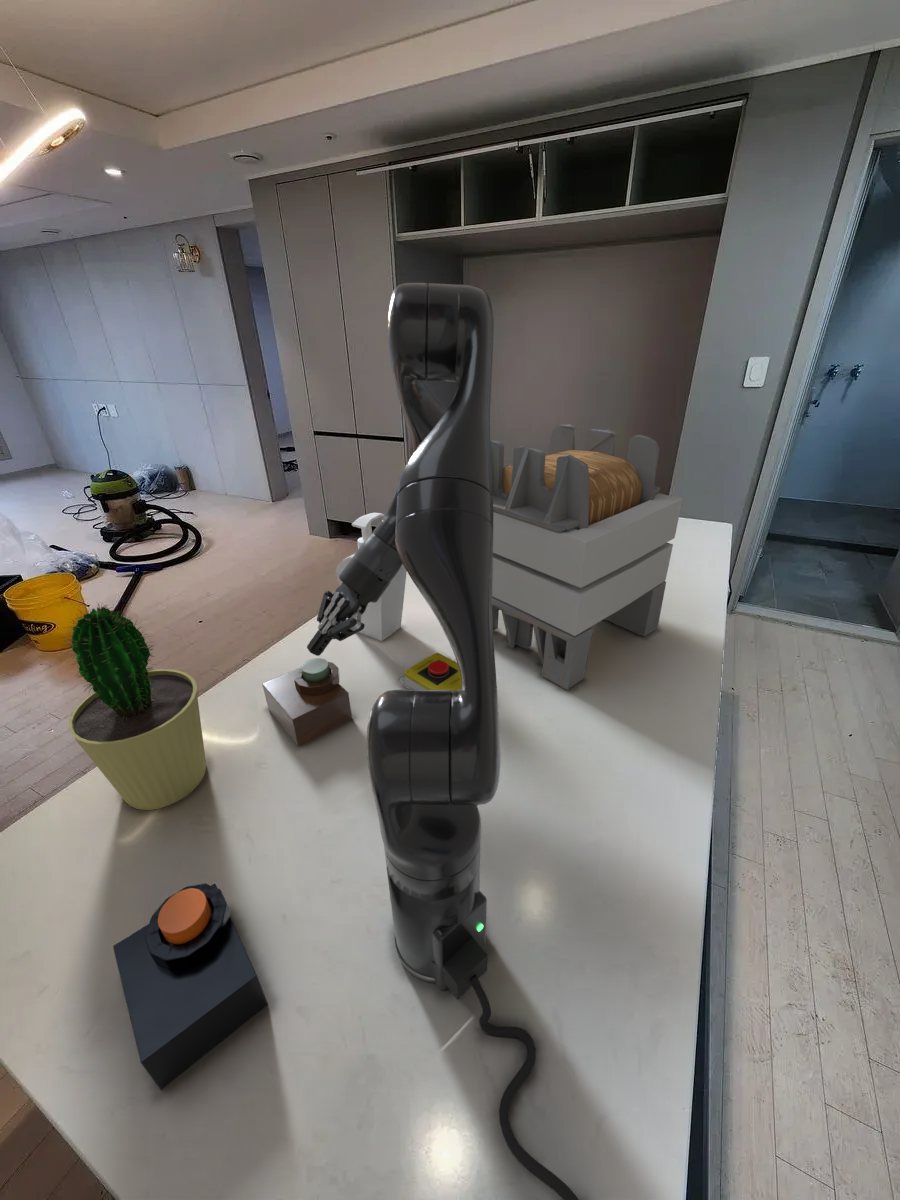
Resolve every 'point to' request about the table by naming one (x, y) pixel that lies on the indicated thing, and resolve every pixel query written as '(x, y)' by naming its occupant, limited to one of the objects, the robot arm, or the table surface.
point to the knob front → (184, 916)
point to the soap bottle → (389, 607)
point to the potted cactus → (135, 714)
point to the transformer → (578, 544)
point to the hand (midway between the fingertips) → (312, 652)
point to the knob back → (315, 670)
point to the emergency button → (433, 674)
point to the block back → (307, 704)
